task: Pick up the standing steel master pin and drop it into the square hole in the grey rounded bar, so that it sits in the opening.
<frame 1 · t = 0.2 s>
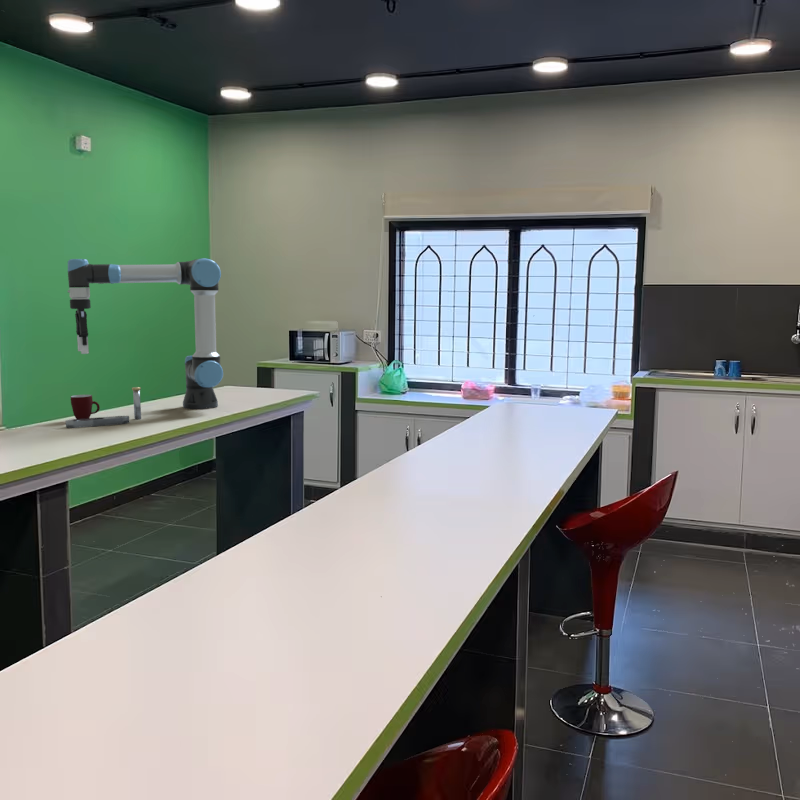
hand: (83, 352, 314), 27 cm above the table, fingers open, 13 cm apart
master pin: (137, 418, 320), on the table
grey rounded bar: (98, 424, 307), on the table
mug: (86, 420, 318), on the table
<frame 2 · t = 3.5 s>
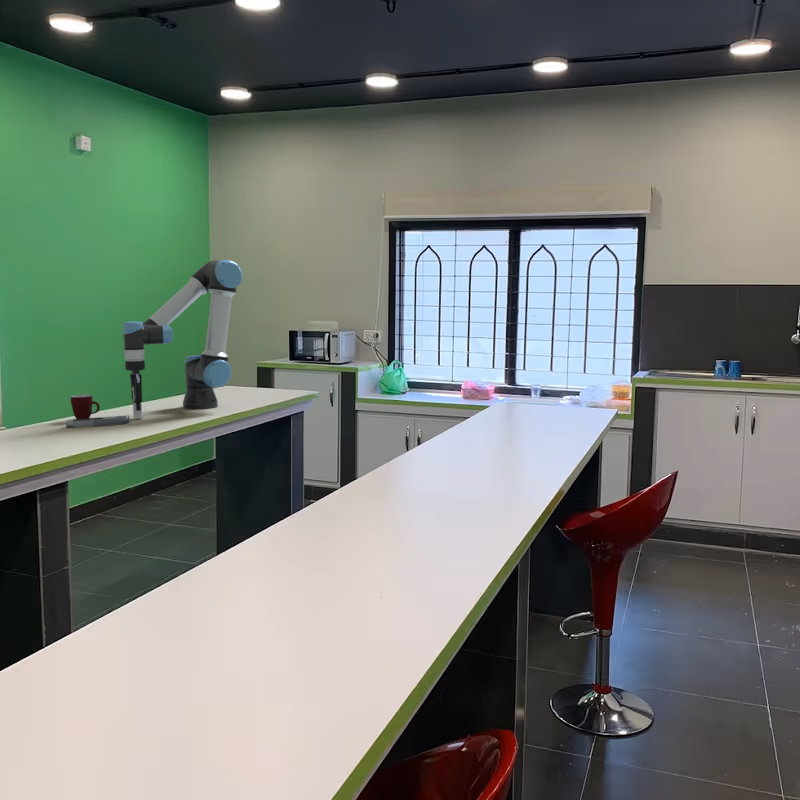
hand: (137, 417, 320), 1 cm above the table, fingers closed on master pin, 2 cm apart
master pin: (138, 418, 320), on the table, touching gripper
everything else where it was.
when the fingers open (4 cm above the table, at t = 7.1 s): master pin drops 3 cm, resting in grey rounded bar.
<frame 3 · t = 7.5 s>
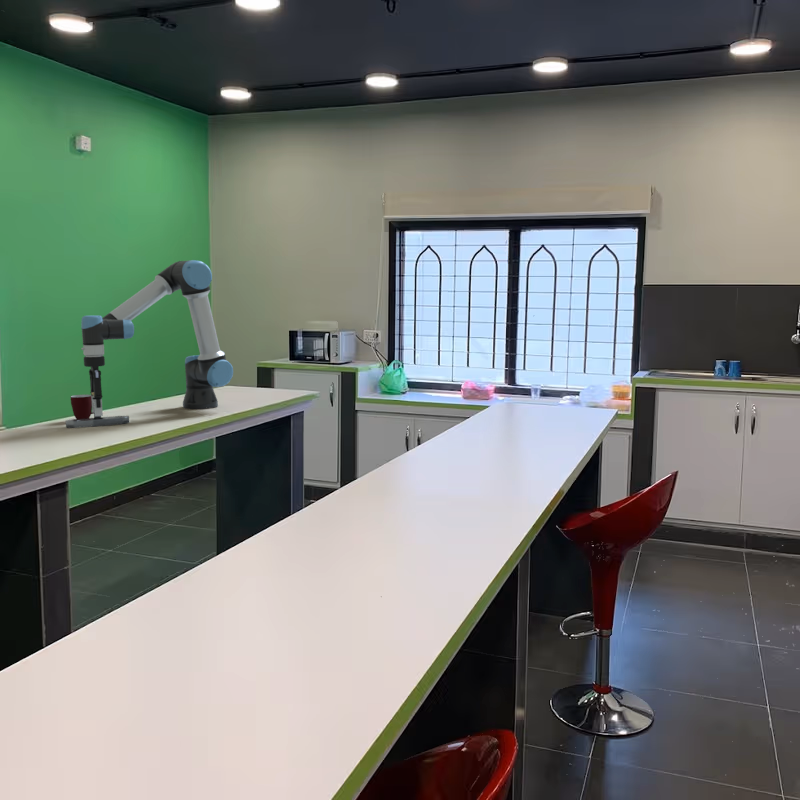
hand: (97, 414, 306), 4 cm above the table, fingers open, 8 cm apart
master pin: (98, 424, 307), resting in grey rounded bar
everything else where it was.
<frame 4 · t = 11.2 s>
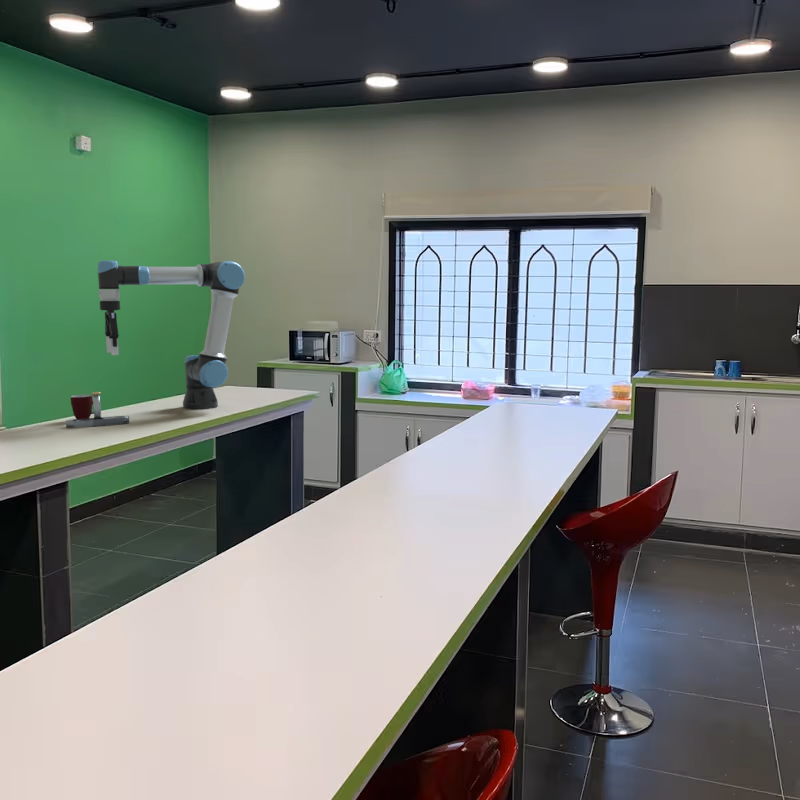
hand: (112, 353, 315), 27 cm above the table, fingers open, 13 cm apart
nothing on the table moved.
at the end: master pin 0.0 cm off-centre on the grey rounded bar, point 0.0 cm above the grey rounded bar's base; master pin tilted 0°; the gripper is holding nothing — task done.
